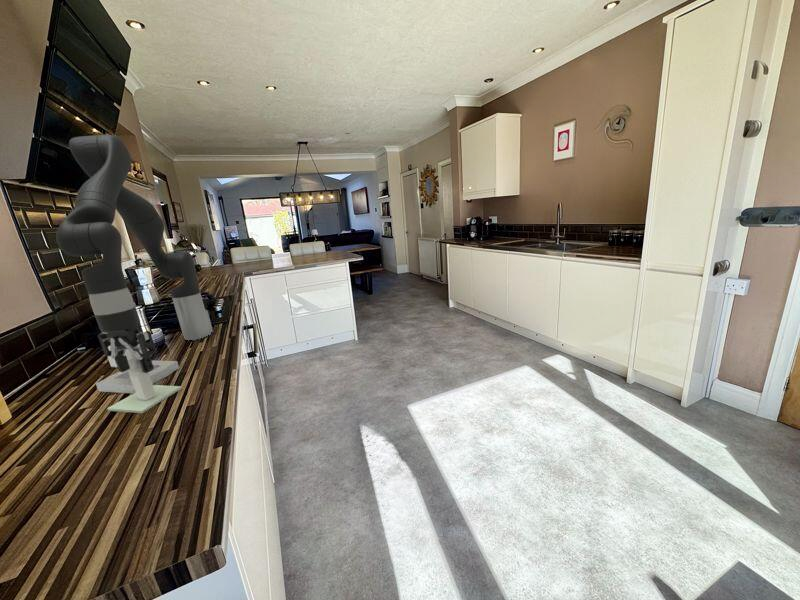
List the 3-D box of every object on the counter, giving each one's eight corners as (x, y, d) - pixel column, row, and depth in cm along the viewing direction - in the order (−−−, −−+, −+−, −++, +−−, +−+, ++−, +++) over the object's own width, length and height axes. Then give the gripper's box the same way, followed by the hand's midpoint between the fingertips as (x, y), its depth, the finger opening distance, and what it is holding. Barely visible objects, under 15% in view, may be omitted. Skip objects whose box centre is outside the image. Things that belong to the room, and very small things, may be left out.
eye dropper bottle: (134, 404, 80) (118, 361, 76) (138, 394, 85) (123, 353, 81) (155, 398, 82) (140, 355, 78) (158, 388, 87) (144, 348, 83)
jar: (112, 371, 103) (99, 336, 99) (110, 363, 108) (98, 330, 105) (146, 360, 108) (135, 327, 105) (143, 354, 114) (132, 322, 111)
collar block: (145, 367, 103) (143, 360, 102) (180, 368, 100) (178, 361, 99) (97, 391, 90) (94, 383, 89) (136, 393, 87) (133, 385, 86)
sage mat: (149, 386, 90) (149, 384, 90) (181, 388, 87) (181, 386, 87) (107, 410, 79) (106, 408, 79) (142, 413, 77) (141, 411, 77)
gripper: (153, 303, 78) (172, 364, 83) (109, 304, 82) (129, 363, 86) (121, 313, 71) (144, 379, 76) (74, 314, 75) (99, 377, 79)
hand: (136, 370), depth 81 cm, fingers open, 7 cm apart
